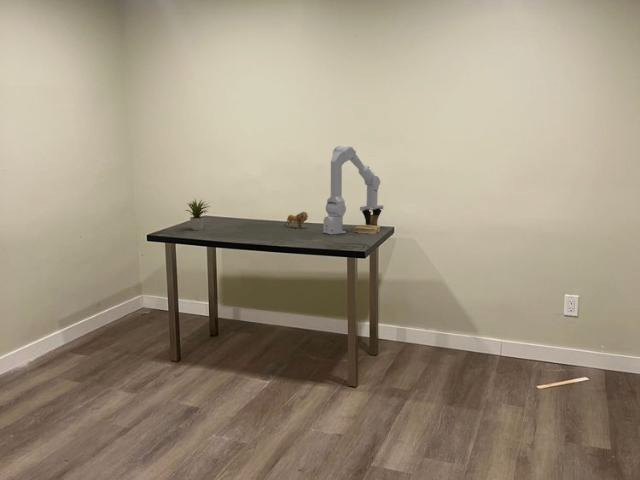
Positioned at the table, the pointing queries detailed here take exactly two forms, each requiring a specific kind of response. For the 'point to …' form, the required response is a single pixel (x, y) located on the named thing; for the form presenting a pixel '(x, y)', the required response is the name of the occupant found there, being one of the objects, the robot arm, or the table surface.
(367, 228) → the oak plinth
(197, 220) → the house plant
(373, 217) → the walnut block
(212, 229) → the table surface
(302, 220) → the lion figurine
